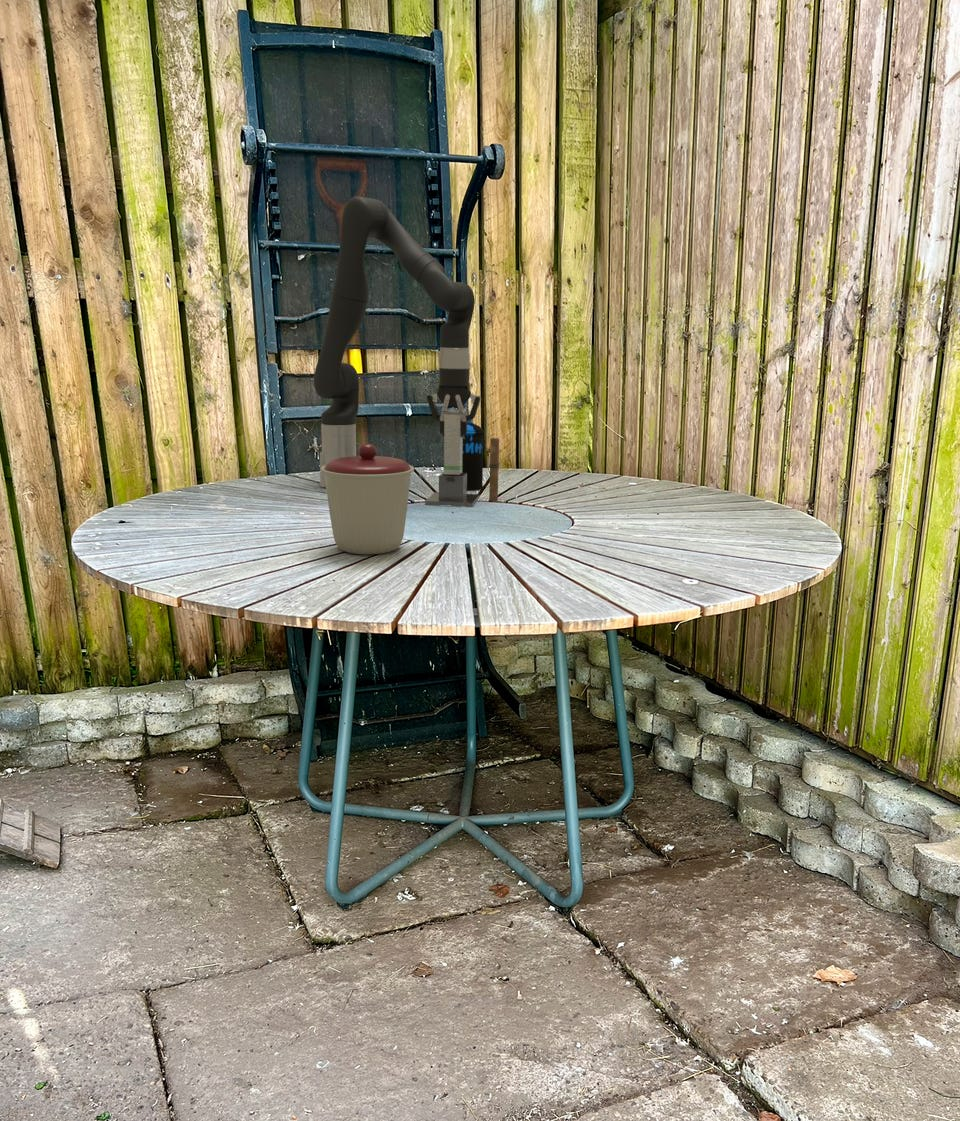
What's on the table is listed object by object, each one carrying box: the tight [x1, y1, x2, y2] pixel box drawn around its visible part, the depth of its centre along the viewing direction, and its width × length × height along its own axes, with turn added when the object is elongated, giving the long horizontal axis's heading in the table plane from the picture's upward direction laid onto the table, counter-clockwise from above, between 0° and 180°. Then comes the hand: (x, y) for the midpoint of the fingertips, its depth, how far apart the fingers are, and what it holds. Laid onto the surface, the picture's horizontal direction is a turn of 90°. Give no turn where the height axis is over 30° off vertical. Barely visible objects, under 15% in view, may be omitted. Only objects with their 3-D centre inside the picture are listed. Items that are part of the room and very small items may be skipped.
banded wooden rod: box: [488, 437, 500, 502], centre depth 229 cm, size 2×2×16 cm
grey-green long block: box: [443, 409, 463, 475], centre depth 225 cm, size 5×5×16 cm
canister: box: [321, 443, 415, 556], centre depth 176 cm, size 18×18×21 cm
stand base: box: [424, 471, 480, 508], centre depth 228 cm, size 12×12×7 cm
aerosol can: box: [462, 419, 485, 492], centre depth 245 cm, size 8×8×20 cm
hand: (453, 436), depth 224 cm, fingers closed on grey-green long block, 4 cm apart
